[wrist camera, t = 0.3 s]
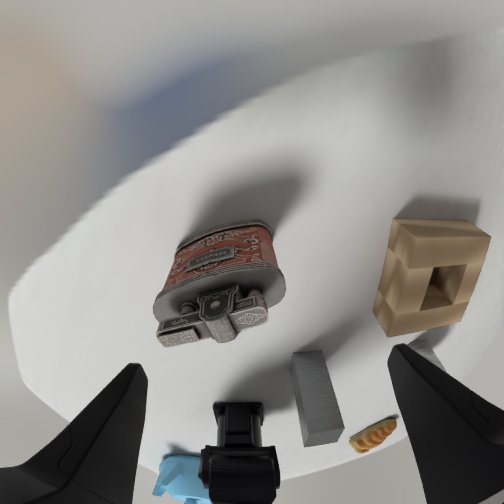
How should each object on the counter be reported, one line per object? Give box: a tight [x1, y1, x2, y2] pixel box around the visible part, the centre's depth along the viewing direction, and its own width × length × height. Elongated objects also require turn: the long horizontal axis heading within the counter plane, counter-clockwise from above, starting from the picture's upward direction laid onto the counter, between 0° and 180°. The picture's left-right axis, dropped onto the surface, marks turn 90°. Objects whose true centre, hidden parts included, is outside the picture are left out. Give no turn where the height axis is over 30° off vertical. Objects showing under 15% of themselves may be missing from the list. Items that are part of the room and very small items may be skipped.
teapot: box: [152, 455, 211, 504], centre depth 39 cm, size 15×15×11 cm
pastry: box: [349, 419, 397, 453], centre depth 39 cm, size 9×7×4 cm
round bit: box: [407, 339, 447, 373], centre depth 28 cm, size 5×5×6 cm
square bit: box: [291, 350, 345, 447], centre depth 24 cm, size 3×3×10 cm
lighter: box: [153, 219, 286, 347], centre depth 18 cm, size 8×3×10 cm, turn 108°
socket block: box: [373, 219, 491, 337], centre depth 22 cm, size 10×10×4 cm
